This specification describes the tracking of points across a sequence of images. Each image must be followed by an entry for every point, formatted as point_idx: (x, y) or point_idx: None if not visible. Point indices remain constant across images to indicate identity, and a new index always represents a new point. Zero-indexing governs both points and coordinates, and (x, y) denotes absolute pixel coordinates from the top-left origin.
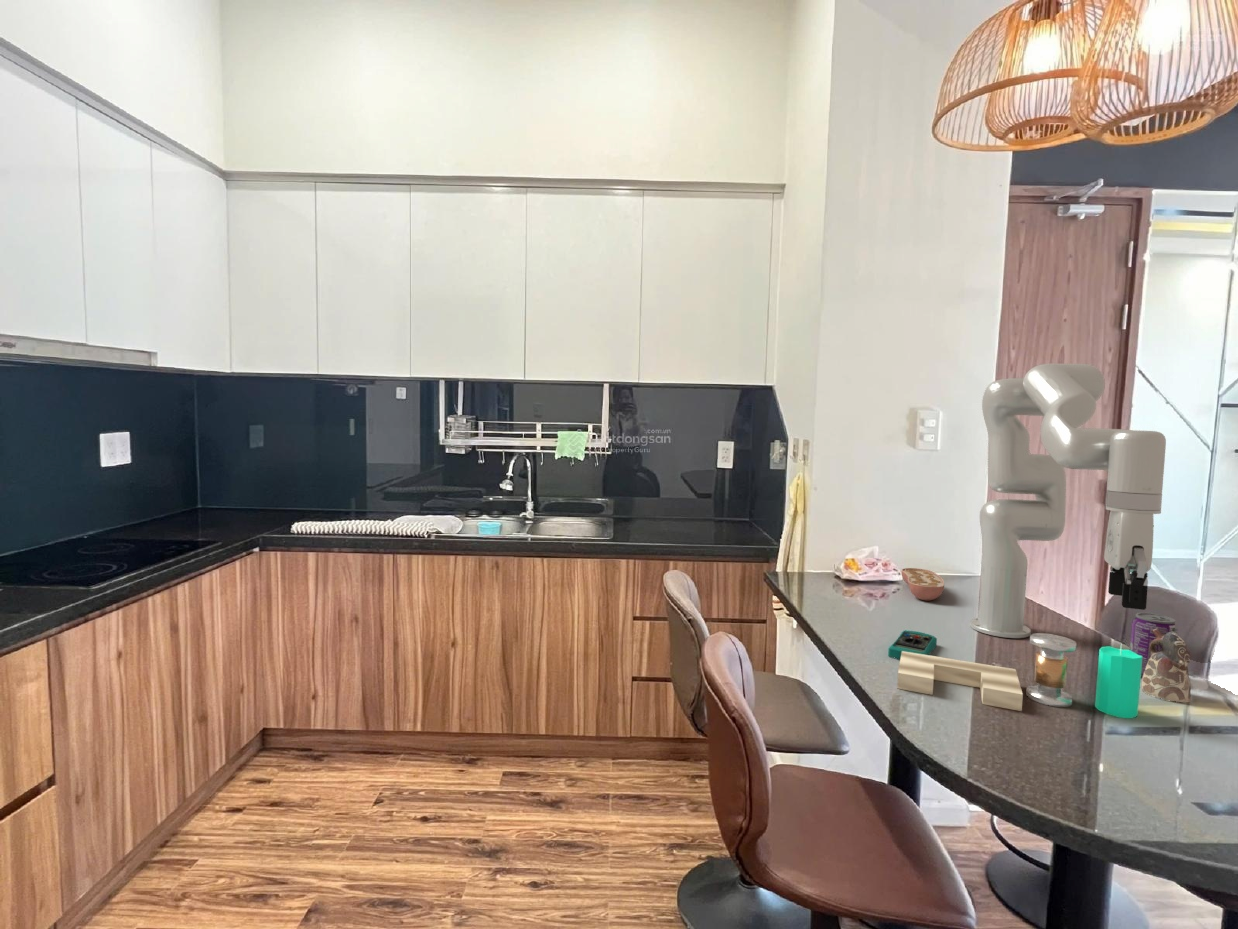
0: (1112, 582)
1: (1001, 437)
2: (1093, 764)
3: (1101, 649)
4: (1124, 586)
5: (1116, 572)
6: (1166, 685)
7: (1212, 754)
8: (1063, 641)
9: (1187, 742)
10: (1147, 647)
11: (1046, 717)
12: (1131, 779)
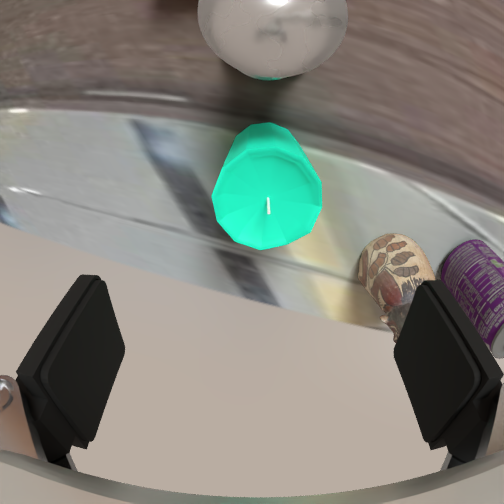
0: (447, 338)
1: None
2: (20, 102)
3: (278, 152)
4: (28, 361)
5: (471, 407)
6: (369, 271)
7: (144, 255)
8: (266, 38)
9: (170, 236)
10: (476, 286)
11: (155, 29)
12: (9, 143)
